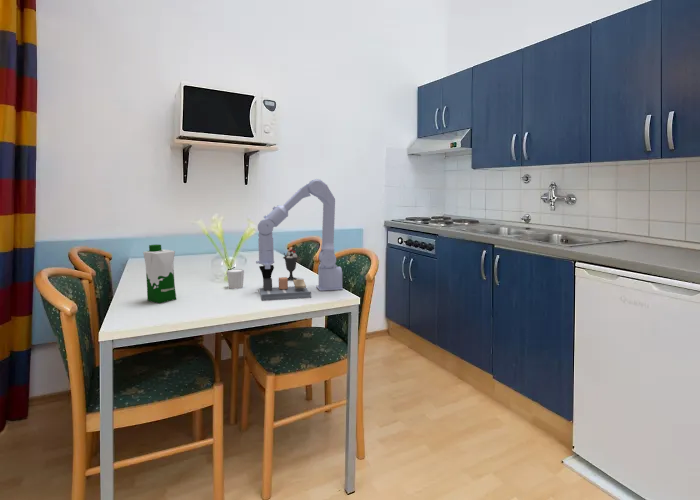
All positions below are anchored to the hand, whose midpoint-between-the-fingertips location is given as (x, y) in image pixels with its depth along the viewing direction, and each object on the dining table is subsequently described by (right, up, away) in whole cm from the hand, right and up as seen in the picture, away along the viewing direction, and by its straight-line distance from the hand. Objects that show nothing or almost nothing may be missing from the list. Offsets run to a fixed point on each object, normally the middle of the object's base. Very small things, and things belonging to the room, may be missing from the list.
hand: (266, 283), depth 172 cm
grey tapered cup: (-14, -2, +6) cm, 16 cm away
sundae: (+7, 0, +22) cm, 23 cm away
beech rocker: (+13, 0, -4) cm, 14 cm away
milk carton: (-35, -5, -15) cm, 39 cm away
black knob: (+1, -2, -4) cm, 4 cm away
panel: (+8, -4, -6) cm, 10 cm away
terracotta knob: (+7, -2, -2) cm, 7 cm away
